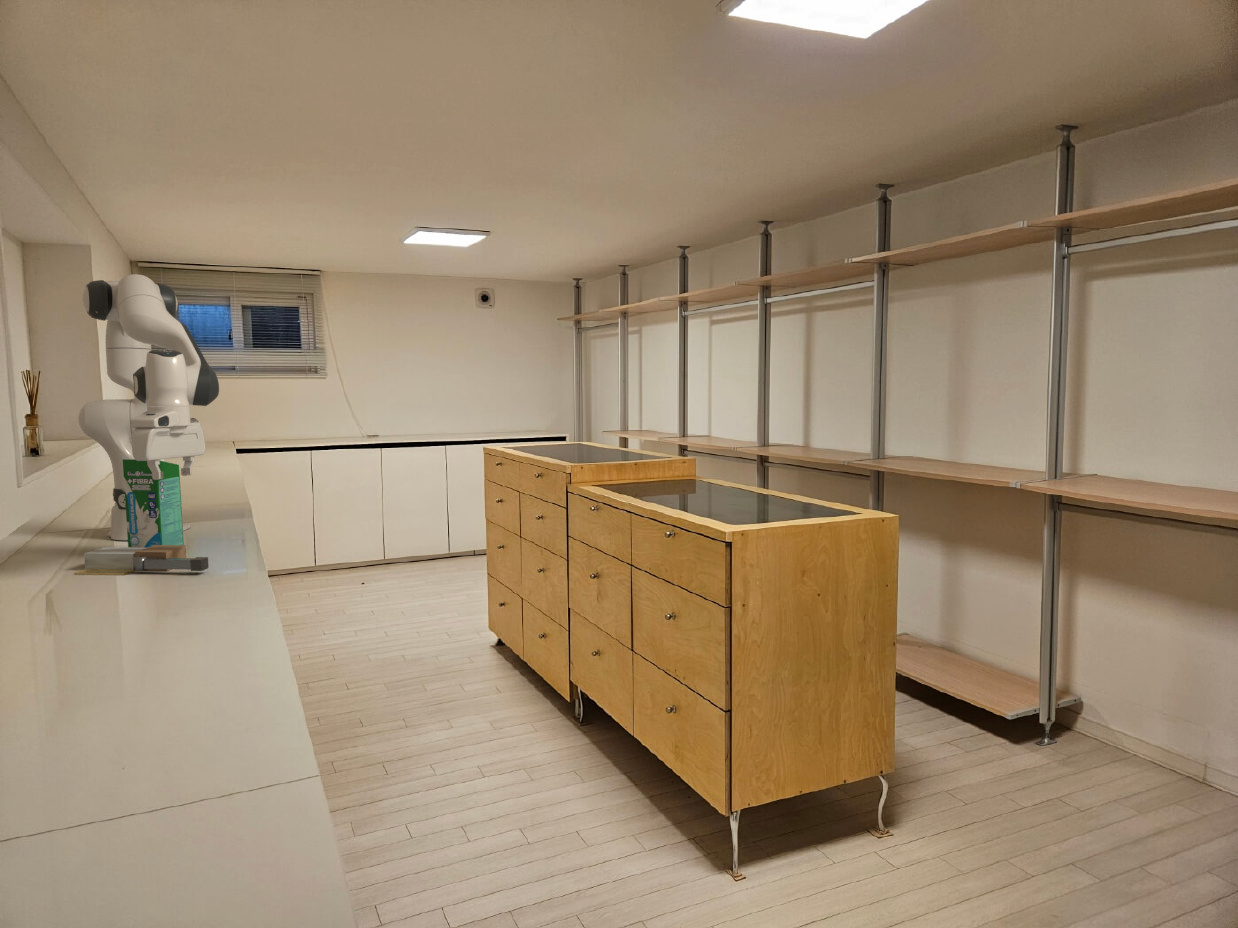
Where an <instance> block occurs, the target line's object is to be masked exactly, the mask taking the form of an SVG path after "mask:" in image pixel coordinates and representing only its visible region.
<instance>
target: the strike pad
mask: <svg viewBox="0 0 1238 928" xmlns="http://www.w3.org/2000/svg"><path fill="white" fill-rule="evenodd" d="M134 572H135V571H134V570H133V569H85V568H84V569H82V570H78V571H75V572H74V573H73V574H74V575H91V576H93V575H94V576H97V575H99V576H104V575H105V576H126V575H129V574H131V573H134Z"/></svg>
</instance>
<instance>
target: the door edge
mask: <svg viewBox="0 0 1238 928" xmlns="http://www.w3.org/2000/svg"><path fill="white" fill-rule="evenodd" d="M141 555H146V556H147V557H148V558H188V557H187V545H186V544H184V545H154V546H151V547H148V548H132V547H128V546H126V547H125V546H123V547H120V546H119V547H117V546H115V547H114V546H113V547H112V546H111V547H110V546H109V547H107V546H104V547H100V548H97V549H94V550H91V551H88V552H84V554H83V557H84V567H85V568H84V569H133V557H135V556H141ZM171 570H172V569H147V570H143V571H142V572H169V571H171Z"/></svg>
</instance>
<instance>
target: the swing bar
mask: <svg viewBox="0 0 1238 928" xmlns="http://www.w3.org/2000/svg"><path fill="white" fill-rule="evenodd" d="M147 569H171V570H185V571H186V570H190V571H191V572H202V571H205V570H207V569H209V557H207V556H197V557H190V558H189V557H187V558H148V557H147V556H146V555H141V556H135V557H133V570H134V572H144V571H143V570H147Z"/></svg>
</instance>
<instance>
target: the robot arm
mask: <svg viewBox="0 0 1238 928" xmlns="http://www.w3.org/2000/svg"><path fill="white" fill-rule="evenodd" d="M82 303H83V306H84V309H85V311H86V313H87V314H88V316H89V317H90V318H92V319H94V320H98V321H103V322H104V321H106V328H105V329H106V330H105V361H106V374H107V376H108V377H109V379H110V380H111V381H112V382H113V383H115V384H117V385H118V386H121V387H124V388H126V389H129V390H130V391H131V392H133V396H134V398H130V399H128V398H127V399H123V398H122V399H101V400H95V401H91V402H90V401H89V402H86V403H85V404H84V405H82V407H81V409H80V411H79V413H78V417H77V419H78V424H79V428H80V429H81V431H82V432H83V433H84V434H85V435H86V436H87V437H88V438H91V439H92V440H94V441H95V442H97V443H98V444H99V445H100V446H101V447H102V448H103V450H104V451H105V452H106V454H107V455H108V457H109V460H110V462H111V463H110V464H111V468H112V473H113V484H114V485H113V486H114V488H113V489H112V497H113V499H112V500H113V501H114V502H115V503H114V505H113V506H112V507H111V514H110V515H111V517H110V531H108V532H107V537H110V539H112V540H117V541H128V535H127V520H126V505H125V490H124V475H123V459H136V460H137V461H147V465H148V467H149V468H150V470H151V472H152V478H153V479H154V480H159V479H163V478H164V476H163V471H160V469H159V466H158V465H159V464H160V459H165V460H169V459H170V460H171V459H178V458H182V461H183V462H184V463H183V466H182V468H180V475H181V476H183V477H185V476H186V477H187V476H191V475H192V468H193V465H194V463H195V457H197V456H203V455H205V452H206V449H207V448H206V440H205V436H204V435H205V434H204V431H203V427H202V426H201V422H200V421H199V420H198V419H197V418H195V417H191V409H190V408H191V407H190V406H191V405H192V406H198V407H199V406H200V407H207V406H208V405H210V404H211V403H212V402H214V401H215V400H216V399H217V398H218V396H219V393H220V383H219V379H218V376H217V374H216V372H215V370H214V369H213V368H212V367H211V365H210V364H209V363H208V362H207V360H206V357H205V356H204V355H203V352H202V350H201V349H200V347H199V345H198V343H197V342H196V340H195V338H194V336H193V334H192V333H191V331H190V330H189V328H188V327H187V326H186V324H184V323H183V322H181V321H179V320H178V319H176V318H175V316H176V313H177V311H178V305H179V303H178V298H177V296H176V293H175V291H174V289H173V288H172V287H171V286H169V285H167V284H163V283H159V282H157V283H155V281H153V280H152V279H151V278H149V277H148V276H146V275H143V274H139V273H138V274H137V273H133V274H128V275H125V276H123V277H122V278H121V279H120V280H103V279H98V280H91V281H90V282H89V283H87V284H86V285H85V289H84V291H83V292H82ZM152 346H156V347H159V348H160V347H161V348H163V349H152ZM182 524H183V532H184V531H186V530H188V529H191V524H189V523H183V522H182Z"/></svg>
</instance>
